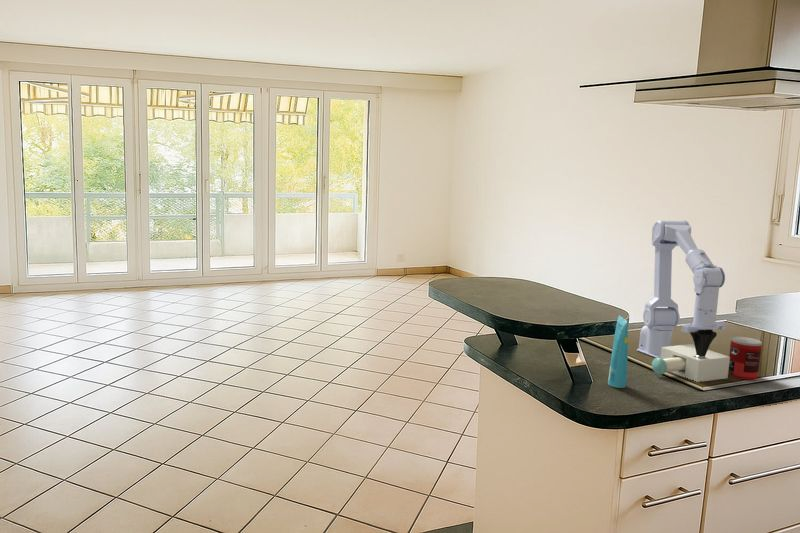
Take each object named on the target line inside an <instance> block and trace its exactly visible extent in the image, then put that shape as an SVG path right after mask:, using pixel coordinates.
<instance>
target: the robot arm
mask: <svg viewBox="0 0 800 533" xmlns="http://www.w3.org/2000/svg"><path fill="white" fill-rule="evenodd" d="M691 226H692V225H691V224H690V223H689V221H687V220H661V219H657V220H656V221H655V222H654V224H653V226H652V227H651V245H652V246H653V247H654V273H653V274H654V275H653V277H654V279H653V283H654V284H653V298H652V299H650V300H649V301H647V302H646V303H645V305H644V310H643V314H642V319H643V322H644V325H643V326H642V328H641V330H640V334H639V343H638V348H636V352H640V353H643V354H645V355H648V356H651V357H653V358H654V359H655V358H660V357H661V347H667V346H672V345H671V344H672V335H673V334H672V333H673V330H675V328H676V327H677V326H678V325H679V324H680V318H681V317H680V313H679V305H678V303H677V302H675V301H674V300H673V299H672V267H673V266H672V261H673V257H672V256H673V250H674V248H676V247H679V248H680V249H681V251H683V253H684V254H685V255H686V256H685V263H686V264H687V266H688V268H689V270H691V272H692V274H693V277H692V278H693V279H692V280H693V285H694V289H693V290H694V292H695V301H694V311H693V318H692V319H693V320H692V321H693V322H690V323H686V324H682V325H681V333H685V334H690V336H691V337H692V341H693V345H695V349H696V355H699V356H705V355H706V353H707V350H709V347H710V345H711V344H712V342H713V340H714V339H715V338H716V337H717V335H718V334H717V332H716V330H717V331H718V330H721V331H725V329H726V323H725V322H723V321H717V320H716V319H717V311H718V303H719V293H720V288H722V287H723V286H724V285H725V281H726V274H725V272H724V269H723V268H722V267H720V266H718V265H715V264H714V263H713V262H712V261H711V259H710V258H709V256H708V255H707V253H706V251H705V250H704V249H700V248H698V247H697V244H696V243H695V240H694V239H693V237H692V234H691V233H692V227H691Z"/></svg>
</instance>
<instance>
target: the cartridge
mask: <svg viewBox="0 0 800 533" xmlns="http://www.w3.org/2000/svg"><path fill="white" fill-rule="evenodd" d="M685 367H686V359H685V358H683V357H676V358H667V359H662V358H655V357H654V358H653V359H652V361H651V368H652V371H653V372H654V373H655V374H656V375H658V376H659V375H664V374H665V373H668V372H670V371H678V370H685ZM670 373H671V372H670Z"/></svg>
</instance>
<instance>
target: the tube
mask: <svg viewBox="0 0 800 533" xmlns="http://www.w3.org/2000/svg"><path fill="white" fill-rule="evenodd" d="M615 326H616V327H615V329H614V330H615V331H614V338H613V344H612V349H611V350H612V351H611V357H610V364H609V372H608V379H607V384H608V386H609V387H613V388H616V389H617V388H618V389H624V388H626V387H627V383H628V382H627V378H628V359H629V358H628V352H629V348H628V347H629V337H628V336H629V334H628V333H629V331H628V320H626V318H624V317H622V316H621V315H619V314H618V316H617V321H616V325H615Z"/></svg>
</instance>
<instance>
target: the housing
mask: <svg viewBox="0 0 800 533" xmlns="http://www.w3.org/2000/svg"><path fill="white" fill-rule="evenodd" d="M676 357H683V358H685V359H686V367H685V370H678V371H670V373H673V374H675V375H678V376H680V377H682V378H685V377H686V378H685V379H687V378H688V379H687V380H690V379H691V381H692V380H694V381H693V382H695V381H696V383H700V381H702V382H708V381H717V380H723V379H728V377H729V376H728V375H729V374H728V369H729V361H730V357H729V355H725V354H722V353H720V352H716V351H713V350H710V349H708V350H707V353H706V355H705V359H698V358H696V349H695V344H694V343H687V344H678V345H671V346H667V347H661V357H660V358H662V359H667V358H676Z"/></svg>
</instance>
